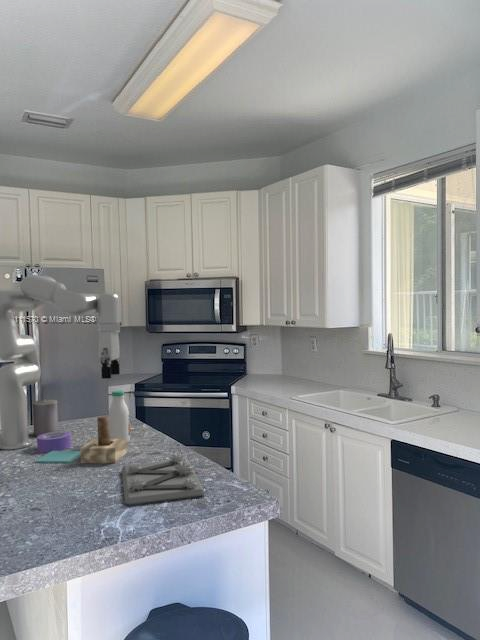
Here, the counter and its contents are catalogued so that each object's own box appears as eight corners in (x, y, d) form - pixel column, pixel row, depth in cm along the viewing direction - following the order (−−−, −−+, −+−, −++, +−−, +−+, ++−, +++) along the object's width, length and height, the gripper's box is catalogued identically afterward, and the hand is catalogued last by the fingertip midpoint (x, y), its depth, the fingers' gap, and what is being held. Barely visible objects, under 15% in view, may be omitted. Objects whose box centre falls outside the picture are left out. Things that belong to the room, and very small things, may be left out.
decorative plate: (121, 472, 159) (121, 450, 159) (188, 465, 165) (188, 444, 165) (125, 508, 130) (124, 481, 130) (206, 498, 136) (205, 472, 136)
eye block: (81, 462, 169) (80, 448, 168) (94, 452, 180) (94, 438, 180) (115, 463, 167) (115, 448, 167) (126, 452, 179) (126, 438, 179)
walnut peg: (96, 459, 172) (95, 419, 172) (101, 455, 176) (99, 416, 176) (108, 459, 172) (106, 419, 171) (112, 455, 176) (110, 416, 175)
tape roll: (30, 452, 183) (30, 438, 183) (48, 443, 195) (48, 430, 195) (60, 453, 181) (59, 439, 181) (76, 444, 193) (76, 431, 193)
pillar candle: (35, 432, 212) (33, 397, 212) (59, 430, 215) (57, 395, 215) (32, 438, 203) (31, 401, 202) (58, 435, 206) (56, 399, 205)
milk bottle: (127, 445, 189) (125, 392, 188) (106, 445, 189) (105, 393, 189) (132, 439, 197) (130, 389, 196) (112, 440, 197) (110, 389, 196)
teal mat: (35, 462, 170) (35, 461, 170) (51, 452, 182) (51, 450, 182) (69, 462, 169) (69, 461, 169) (83, 452, 181) (83, 450, 181)
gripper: (106, 327, 186) (108, 373, 187) (90, 329, 169) (92, 380, 169) (126, 327, 186) (128, 372, 186) (111, 329, 168) (113, 379, 169)
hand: (111, 376), depth 178 cm, fingers open, 9 cm apart
